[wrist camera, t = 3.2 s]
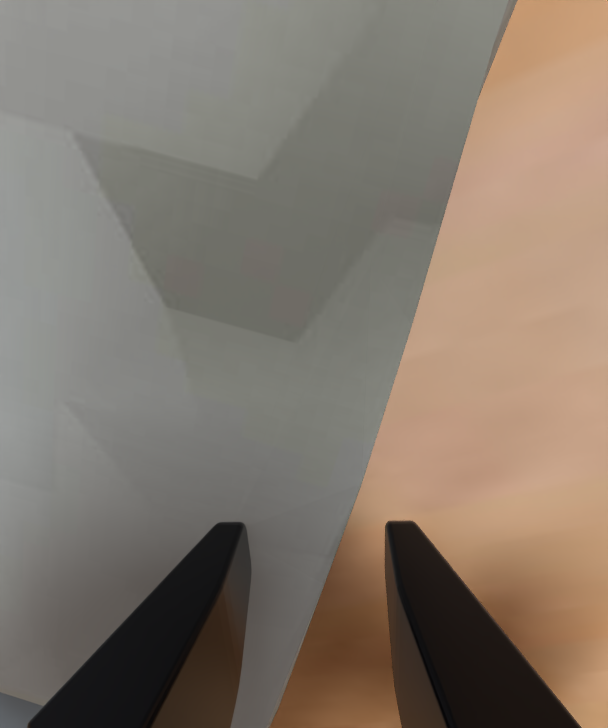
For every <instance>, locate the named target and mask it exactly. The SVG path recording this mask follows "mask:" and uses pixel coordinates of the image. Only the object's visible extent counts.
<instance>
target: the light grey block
mask: <svg viewBox="0 0 608 728" xmlns="http://www.w3.org/2000/svg"><path fill="white" fill-rule="evenodd" d="M516 2H517V0H0V692H1V693H4V694H7V695H10V696H14V697H17V698H20V699H23V700H26V701H29V702H32V703H35V704H39V705H42V706H44V705H45V704H46V703H47V702H48V701H49V700H50V699H51V698H52V696H53V695H54V694H55V693H56V692H57V691H58V690H59V689H60V688H61V687H62V686H63V685H64V684H65V683H66V682H67V681H68V680H69V678H70V677H71V676H72V675H73V674H74V673H75V672H76V671H77V670H78V669H79V668H80V667H81V666H82V665H83V664H84V663H85V662H86V661H87V659H88V658H89V657H90V656H91V655H92V654H93V653H94V652H95V651H96V650H97V649H98V648H99V647H100V646H101V645H102V644H103V643H104V641H105V640H106V639H107V638H108V637H109V636H110V635H111V634H112V633H113V632H114V631H115V630H116V629H117V628H118V627H119V626H120V625H121V623H122V622H123V621H124V620H125V619H126V618H127V617H128V616H129V615H130V614H131V613H132V612H133V611H134V610H135V609H136V608H137V607H138V606H139V604H140V603H141V602H142V601H143V600H144V599H145V598H146V597H147V596H148V595H149V594H150V593H151V592H152V591H153V590H154V589H155V588H156V586H157V585H158V584H159V583H160V582H161V581H162V580H163V579H164V578H165V577H166V576H167V575H168V574H169V573H170V572H171V571H172V570H173V569H174V567H175V566H176V565H177V564H178V563H179V562H180V561H181V560H182V559H183V558H184V557H185V556H186V555H187V554H188V553H189V552H190V551H191V549H192V548H193V547H194V546H195V545H196V544H197V543H198V542H199V541H200V540H201V539H202V538H203V537H204V536H205V535H206V534H207V533H208V532H209V530H210V529H211V528H212V527H213V526H214V525H215V524H217V523H219V522H242V523H244V524H245V526H246V529H247V535H248V543H249V550H250V557H251V568H252V569H251V585H250V595H249V604H248V613H247V623H246V632H245V641H244V651H243V660H242V668H241V676H240V684H239V689H238V694H237V700H236V705H235V709H234V714H233V718H232V723H231V728H269V727H270V725H271V723H272V720H273V718H274V716H275V714H276V712H277V710H278V708H279V705H280V702H281V700H282V697H283V694H284V691H285V689H286V686H287V683H288V681H289V678H290V675H291V673H292V670H293V667H294V665H295V662H296V659H297V657H298V654H299V651H300V649H301V646H302V643H303V641H304V638H305V635H306V632H307V630H308V627H309V624H310V622H311V619H312V616H313V614H314V611H315V608H316V606H317V603H318V600H319V598H320V595H321V592H322V590H323V587H324V584H325V581H326V579H327V576H328V573H329V571H330V568H331V565H332V563H333V560H334V557H335V554H336V552H337V549H338V546H339V544H340V541H341V538H342V535H343V533H344V530H345V527H346V525H347V522H348V519H349V516H350V514H351V511H352V508H353V506H354V503H355V500H356V497H357V495H358V492H359V489H360V487H361V484H362V481H363V478H364V475H365V471H366V468H367V465H368V462H369V459H370V456H371V452H372V449H373V446H374V443H375V440H376V437H377V433H378V430H379V427H380V424H381V421H382V418H383V415H384V411H385V408H386V405H387V402H388V399H389V396H390V392H391V389H392V386H393V383H394V380H395V377H396V374H397V370H398V367H399V364H400V361H401V358H402V355H403V351H404V348H405V345H406V342H407V339H408V336H409V333H410V329H411V326H412V323H413V319H414V316H415V313H416V309H417V306H418V302H419V299H420V295H421V292H422V289H423V285H424V282H425V278H426V275H427V271H428V268H429V265H430V261H431V258H432V254H433V251H434V247H435V244H436V241H437V237H438V234H439V230H440V227H441V223H442V220H443V217H444V213H445V210H446V206H447V203H448V199H449V196H450V193H451V189H452V186H453V182H454V179H455V175H456V172H457V169H458V165H459V162H460V158H461V155H462V151H463V148H464V144H465V141H466V138H467V134H468V131H469V127H470V124H471V120H472V117H473V114H474V110H475V107H476V103H477V100H478V98H479V95H480V93H481V90H482V88H483V85H484V83H485V80H486V77H487V75H488V72H489V70H490V67H491V65H492V62H493V60H494V57H495V55H496V52H497V50H498V47H499V45H500V42H501V40H502V37H503V35H504V32H505V30H506V27H507V25H508V22H509V20H510V17H511V15H512V12H513V10H514V7H515V5H516Z"/></svg>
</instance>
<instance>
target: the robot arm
mask: <svg viewBox="0 0 608 728" xmlns="http://www.w3.org/2000/svg"><path fill="white" fill-rule="evenodd" d="M251 569H252V568H251V557H250V550H249V543H248V535H247V529H246V526H245V524H244V523H242V522H219V523H217V524H215V525H214V526H213V527H212V528H211V529H210V530H209V532H208V533H207V534H206V535H205V536H204V537H203V538H202V539H201V540H200V541H199V542H198V543H197V544H196V545H195V546H194V547H193V548H192V549H191V551H190V552H189V553H188V554H187V555H186V556H185V557H184V558H183V559H182V560H181V561H180V562H179V563H178V564H177V565H176V566H175V567H174V569H173V570H172V571H171V572H170V573H169V574H168V575H167V576H166V577H165V578H164V579H163V580H162V581H161V582H160V583H159V584H158V585H157V586H156V588H155V589H154V590H153V591H152V592H151V593H150V594H149V595H148V596H147V597H146V598H145V599H144V600H143V601H142V602H141V603H140V604H139V606H138V607H137V608H136V609H135V610H134V611H133V612H132V613H131V614H130V615H129V616H128V617H127V618H126V619H125V620H124V621H123V622H122V623H121V625H120V626H119V627H118V628H117V629H116V630H115V631H114V632H113V633H112V634H111V635H110V636H109V637H108V638H107V639H106V640H105V641H104V643H103V644H102V645H101V646H100V647H99V648H98V649H97V650H96V651H95V652H94V653H93V654H92V655H91V656H90V657H89V658H88V659H87V661H86V662H85V663H84V664H83V665H82V666H81V667H80V668H79V669H78V670H77V671H76V672H75V673H74V674H73V675H72V676H71V677H70V678H69V680H68V681H67V682H66V683H65V684H64V685H63V686H62V687H61V688H60V689H59V690H58V691H57V692H56V693H55V694H54V695H53V696H52V698H51V699H50V700H49V701H48V702H47V703H46V704H45V705H44V706H43V707H42V708H41V709H40V710H39V711H38V712H37V713H36V714H35V715H34V717H33V718H32V719H31V720H30V721H29V722H28V724H27V728H231V723H232V718H233V714H234V709H235V705H236V700H237V694H238V689H239V684H240V676H241V668H242V660H243V651H244V641H245V632H246V623H247V613H248V604H249V595H250V585H251ZM385 580H386V593H387V605H388V618H389V630H390V643H391V655H392V667H393V677H394V686H395V692H396V698H397V704H398V709H399V715H400V720H401V725H402V728H582V727H581V726H580V725H579V724H578V723H577V721H576V720H575V719H574V718H573V716H572V715H571V714H570V713H569V711H568V710H567V709H566V708H565V707H564V705H563V704H562V703H561V702H560V700H559V699H558V698H557V697H556V695H555V694H554V693H553V692H552V690H551V689H550V688H549V687H548V686H547V684H546V683H545V682H544V681H543V679H542V678H541V677H540V676H539V674H538V673H537V672H536V671H535V670H534V668H533V667H532V666H531V665H530V663H529V662H528V661H527V660H526V658H525V657H524V656H523V655H522V653H521V652H520V651H519V650H518V649H517V647H516V646H515V645H514V644H513V642H512V641H511V640H510V639H509V637H508V636H507V635H506V634H505V633H504V631H503V630H502V629H501V628H500V626H499V625H498V624H497V623H496V621H495V620H494V619H493V618H492V616H491V615H490V614H489V613H488V612H487V610H486V609H485V608H484V607H483V605H482V604H481V603H480V602H479V600H478V599H477V598H476V597H475V596H474V594H473V593H472V592H471V591H470V589H469V588H468V587H467V586H466V584H465V583H464V582H463V581H462V579H461V578H460V577H459V576H458V575H457V573H456V572H455V571H454V570H453V568H452V567H451V566H450V565H449V563H448V562H447V561H446V560H445V559H444V557H443V556H442V555H441V554H440V552H439V551H438V550H437V549H436V547H435V546H434V545H433V544H432V542H431V541H430V540H429V539H428V538H427V536H426V535H425V534H424V533H423V531H422V530H421V529H420V528H419V526H418V525H417V524H416V523H415V522H413V521H388V522H387V523H386V525H385Z"/></svg>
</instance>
